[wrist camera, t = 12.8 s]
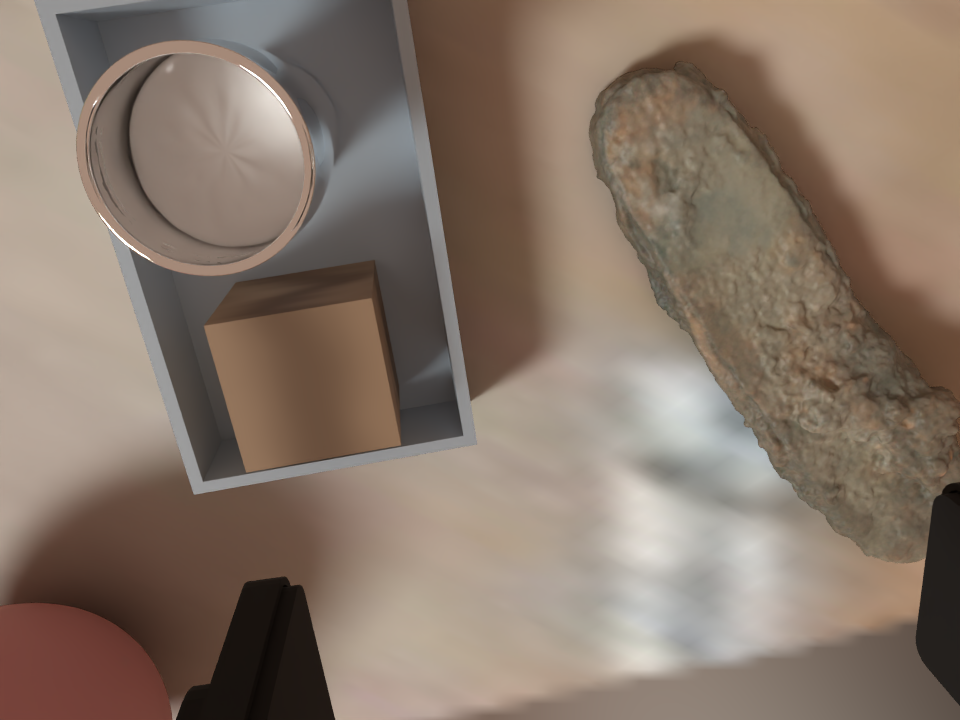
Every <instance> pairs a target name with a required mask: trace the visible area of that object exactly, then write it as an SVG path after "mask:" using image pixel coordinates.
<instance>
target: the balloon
mask: <svg viewBox="0 0 960 720" xmlns="http://www.w3.org/2000/svg"><path fill="white" fill-rule="evenodd" d="M0 720H172V713H171V707H170V702H169V698H168V695H167V691H166V688H165V686H164V683H163V681H162V678H161V676H160V674H159V672H158V670H157V668H156V666H155V665H154V663H153V662H152V660H151V659H150V657H149V656H148V654H147V653H146V652H145V651H144V649H143V648H142V647H141V646H140V645H139V644H138V643H137V642H136V641H135V640H134V639H133V638H132V637H131V636H130V635H129V634H127V633H126V632H125V631H124V630H122V629H121V628H120V627H118V626H117V625H115V624H114V623H112V622H110V621H108V620H106V619H104V618H102V617H100V616H98V615H96V614H93V613H91V612H88V611H85V610H82V609H79V608H75V607H70V606H65V605H59V604H50V603H21V604H11V605H4V606H0Z"/></svg>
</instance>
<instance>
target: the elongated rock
mask: <svg viewBox="0 0 960 720" xmlns="http://www.w3.org/2000/svg"><path fill="white" fill-rule="evenodd" d="M595 107H596V111H595V114H594V115H593V117H592V119H591V121H590V128H589V137H590V142H591V146H592V149H593V155H592V156H593V161H594V166H595V169H596V170H597V178H598V179H600V180H602V181H603V182H604V183H605V184H606V186H607V187H608V188H609V189H610V191H611V194H612V196H613V200H614V202H615V207H616V219H617V223H618V225H619V227H620V229H621V230H622V231H623V233H624V235H625V237H626V238H627V240H628V241H629V242H630V243H631V244H632V245H633V248H634V249H635V250H636V251H637V255H638V259H639V260H640V262H641V263H643V264H644V265H645V267H646V269H647V272H648V277H649V281H650V283H651V288H652V290H653V291H654V296H655V298H656V301H657V304H658V305H659V306H660V307H661V308H662V309H663V310H666V311H667V314H668V316H669V317H671V318H673V319H674V320H675V321H677V322H678V323H679V324H680V328H681V329H683V330H685V331H687V332H688V333H689V334H690V336H691V337H692V339H693V342H694V344H695V346H696V347H697V349H698V350H699V352H700V354H701V355H702V356H703V358H704V360H705V362H706V365H707V366H708V368H709V371H710V372H711V373H712V374H713V376H714V377H715V380H716V382H717V383H718V385H719V386H720V387H721V388H722V390H723V391H724V392H725V393H726V394H727V396H728V398H729V399H730V400H731V402H732V404H733V406H734V407H735V410H736V411H738V412H739V413H740V414H742V415H743V416H744V418H745V421H744V425H745V427H751V428H752V430H753V432H754V435H755V436H756V438H757V439H758V445H759V446H760V447H761V448H764V449H765V450H766V452H767V453H768V457H769V460H770V462H771V464H772V465H773V468H774V469H775V470H776V472H777V473H778V474H779V476H780V477H781V478H782V479H786V480H787V481H789V482H790V483H791V484H792V486H793V489H794V491H795V492H797V495H798V497H799V498H800V499H801V500H803V501H805V502H806V503H807V504H808V505H809V506H810V507H811V508H813V509H816V510H819V511H820V512H821V513H822V514H824V515H825V516H826V520H827V521H828V523H829V524H830V526H831V527H832V528H833V530H834V531H835V532H836V533H838V534H840V535H842V536H845V537H848V538H850V539H851V540H853V541H854V542H856V544H857V546H858V547H860V548H861V550H862V551H863V553H864V554H865V555H866V556H872V557H876V558H879V559H881V560H884V561H886V562H894V563H912V562H917V561H919V560H922V559H924V558H926V552H927V544H928V536H929V529H930V521H931V513H932V505H933V501H934V499H935V498H936V496H939V495H941V494H942V491H943V489H944V488H945V486H946V485H948V484H950V483H956V482H960V447H959V445H958V442H957V438H956V435H955V434H956V433H958V431H959V426H958V423H957V422H956V420H957V419H958V418H959V417H960V403H959V402H958V400H957V399H956V398H955V397H954V395H953V393H952V392H951V391H950V390H948V389H945V388H944V387H941V386H939V387H929V386H928V383H927V382H926V381H925V380H924V379H922V378H921V377H920V372H919V370H918V369H917V367H916V366H915V365H914V363H913V362H912V361H911V359H910V358H909V357H907V356H906V355H905V354H904V353H902V352H901V350H900V349H899V348H898V347H897V346H896V343H895V341H894V340H893V339H892V338H891V336H890V335H889V334H888V333H886V332H885V331H884V330H883V329H882V328H881V327H879V325H878V324H877V323H875V321H874V319H873V318H871V317H870V316H869V312H868V311H866V310H865V309H864V307H863V306H862V305H861V304H860V303H859V301H858V300H857V299H856V298H855V296H854V294H853V291H852V289H851V288H850V277H848V276H847V275H846V274H845V272H844V271H843V270H842V268H841V266H840V261H839V258H838V256H837V255H836V251H835V249H834V248H833V246H832V245H831V243H830V241H829V240H827V237H826V234H825V232H824V231H823V229H822V227H821V226H820V224H819V221H818V220H817V218H816V216H815V215H814V214H813V213H812V209H811V206H810V203H809V201H808V200H806V199H805V198H804V196H802V195H800V193H799V192H798V190H797V185H796V184H795V182H794V181H793V180H792V178H790V177H789V176H788V175H786V174H785V173H783V171H782V170H781V165H780V162H779V157H778V156H777V155H776V153H775V151H774V149H773V148H772V147H771V146H770V145H769V143H768V140H767V137H766V135H765V134H763V133H762V132H760V131H759V130H758V128H751V127H750V126H749V125H748V124H747V122H746V120H745V118H744V117H743V116H742V115H741V114H740V113H739V112H738V111H737V110H736V108H735V107H734V106H733V105H732V103H731V102H730V101H729V100H728V95H727V93H726V92H725V91H724V90H722V89H718V88H716V87H713V85H712V84H711V83H710V82H708V81H707V80H706V78H705V75H704V74H703V73H702V72H701V71H700V70H699V69H697V68H696V67H695V66H694V65H693V64H691V63H686V62H683V61H679V62H677V63H676V65H675V67H674V70H667V71H664V70H662V69H655V68H649V69H647V68H645V69H640V70H638V71H633V72H630V73H626V74H624V75H622V76H621V77H620V78H617V79H616V81H614V82H613V83H612V84H611V85H610V86H609V87H608V88H607V89H605V90H604V91H602V92H600V94H599V96H598V98H597V100H596V102H595Z"/></svg>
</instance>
